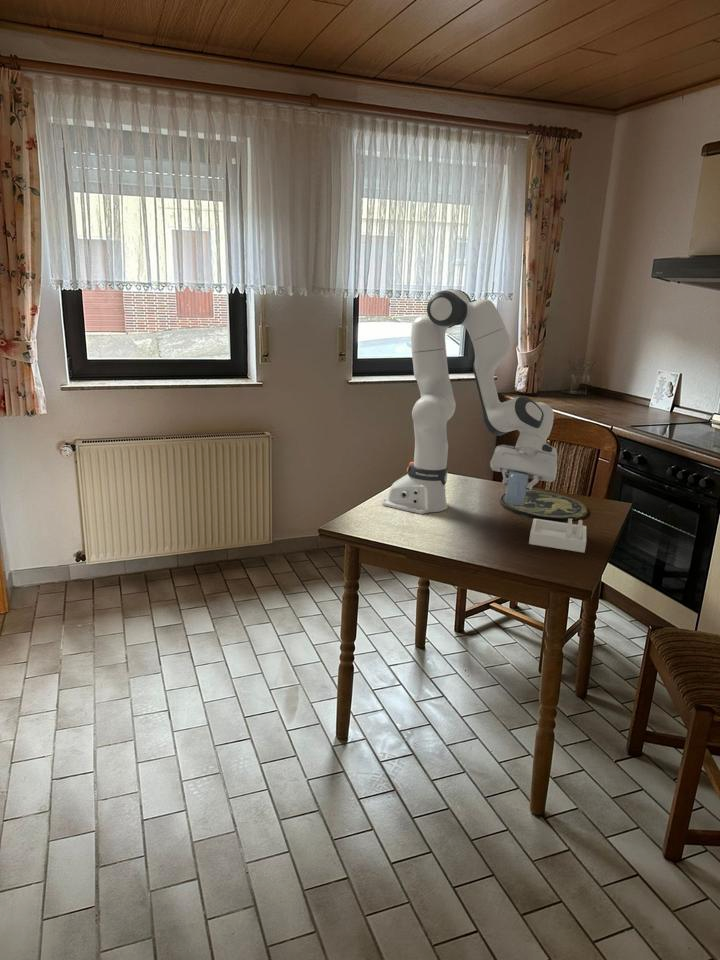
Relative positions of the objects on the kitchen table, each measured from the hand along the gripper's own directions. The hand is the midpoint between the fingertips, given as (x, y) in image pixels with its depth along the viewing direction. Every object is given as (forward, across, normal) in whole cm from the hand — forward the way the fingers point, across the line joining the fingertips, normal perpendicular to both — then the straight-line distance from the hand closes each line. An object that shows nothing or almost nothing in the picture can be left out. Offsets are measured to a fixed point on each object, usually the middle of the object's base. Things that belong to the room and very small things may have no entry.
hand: (516, 486), depth 205 cm
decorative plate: (-12, +3, +34) cm, 36 cm away
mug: (+3, 0, +4) cm, 5 cm away
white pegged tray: (+9, +14, +12) cm, 21 cm away
